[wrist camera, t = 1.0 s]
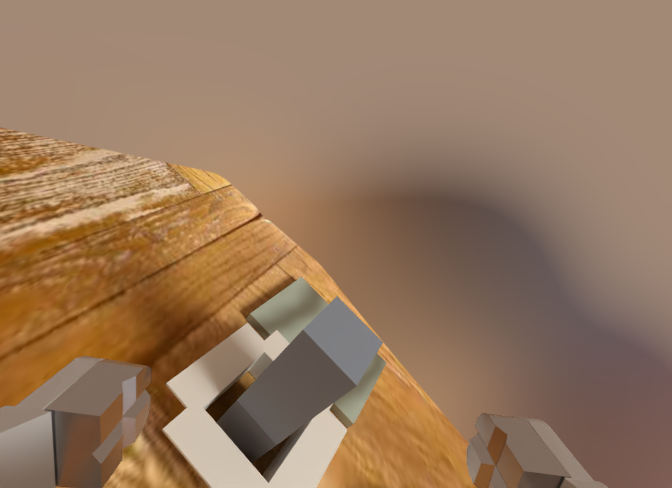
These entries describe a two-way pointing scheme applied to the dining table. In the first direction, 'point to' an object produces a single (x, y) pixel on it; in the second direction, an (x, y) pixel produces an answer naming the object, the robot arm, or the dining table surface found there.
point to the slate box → (302, 381)
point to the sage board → (291, 318)
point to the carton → (212, 442)
